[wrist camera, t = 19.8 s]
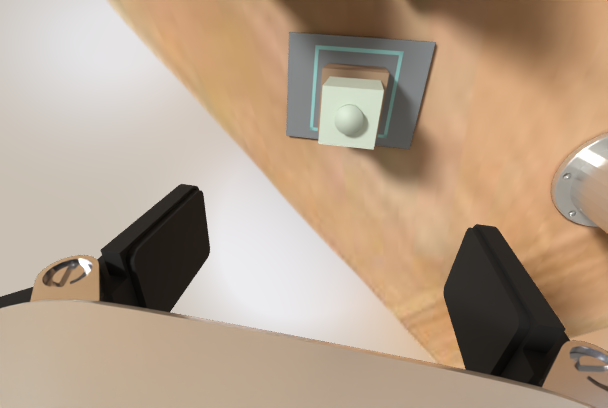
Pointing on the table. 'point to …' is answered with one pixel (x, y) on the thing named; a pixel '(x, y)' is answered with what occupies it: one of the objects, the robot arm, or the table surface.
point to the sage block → (350, 112)
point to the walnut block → (357, 73)
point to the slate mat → (358, 51)
